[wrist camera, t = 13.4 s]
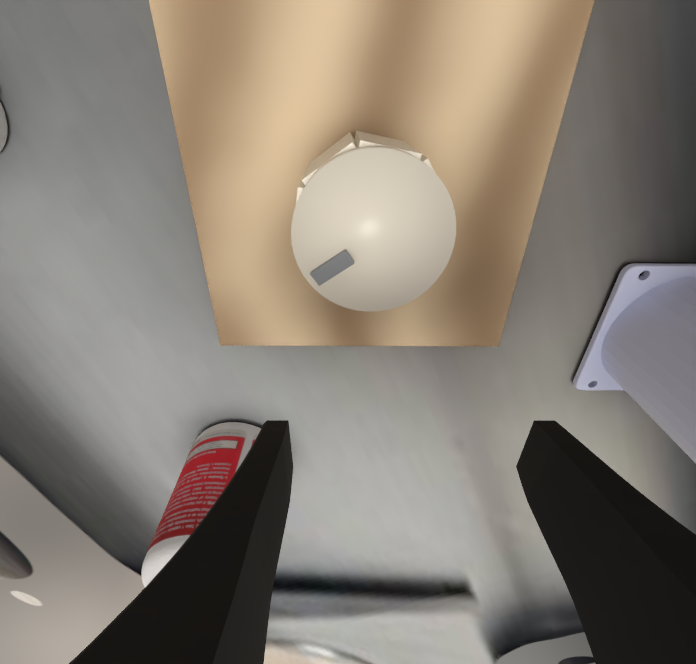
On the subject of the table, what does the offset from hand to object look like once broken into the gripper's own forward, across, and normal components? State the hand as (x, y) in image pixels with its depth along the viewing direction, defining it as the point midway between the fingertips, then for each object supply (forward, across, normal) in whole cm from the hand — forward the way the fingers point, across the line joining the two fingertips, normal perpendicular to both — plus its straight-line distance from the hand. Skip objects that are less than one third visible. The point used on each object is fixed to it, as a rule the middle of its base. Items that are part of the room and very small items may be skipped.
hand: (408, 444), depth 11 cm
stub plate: (+10, +1, -5) cm, 11 cm away
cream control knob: (+9, +1, -5) cm, 10 cm away
